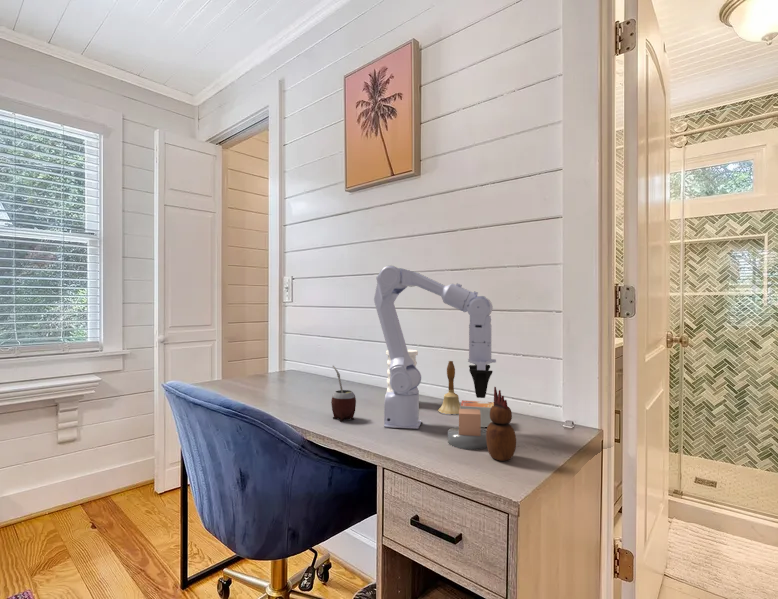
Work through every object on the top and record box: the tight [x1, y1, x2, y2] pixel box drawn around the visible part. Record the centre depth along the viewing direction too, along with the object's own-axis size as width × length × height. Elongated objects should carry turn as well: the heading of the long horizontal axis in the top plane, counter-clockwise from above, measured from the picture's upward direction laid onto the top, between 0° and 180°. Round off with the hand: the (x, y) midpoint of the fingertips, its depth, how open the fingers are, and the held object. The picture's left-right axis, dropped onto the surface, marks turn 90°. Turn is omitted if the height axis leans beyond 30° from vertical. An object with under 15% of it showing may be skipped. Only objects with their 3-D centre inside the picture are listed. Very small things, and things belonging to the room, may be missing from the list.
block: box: [458, 409, 482, 436], centre depth 103 cm, size 5×5×5 cm
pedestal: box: [447, 426, 488, 450], centre depth 103 cm, size 10×10×2 cm
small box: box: [460, 400, 494, 428], centre depth 120 cm, size 8×6×10 cm
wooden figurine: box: [486, 386, 517, 462], centre depth 92 cm, size 7×6×15 cm
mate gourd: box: [330, 365, 357, 423], centre depth 125 cm, size 8×8×15 cm
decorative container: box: [385, 348, 419, 393], centre depth 146 cm, size 12×12×18 cm
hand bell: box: [437, 360, 461, 415], centre depth 134 cm, size 8×8×16 cm
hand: (480, 394), depth 111 cm, fingers open, 7 cm apart
